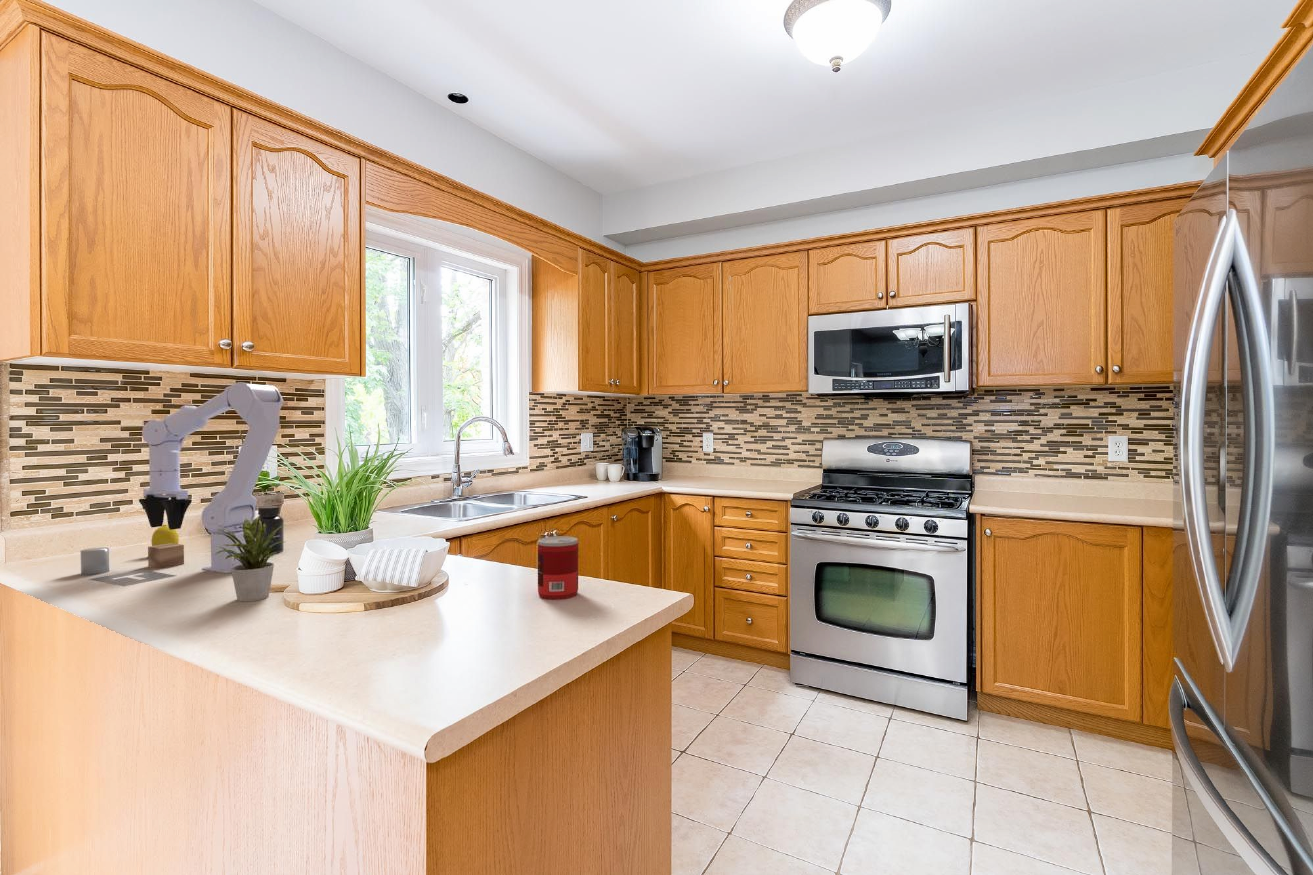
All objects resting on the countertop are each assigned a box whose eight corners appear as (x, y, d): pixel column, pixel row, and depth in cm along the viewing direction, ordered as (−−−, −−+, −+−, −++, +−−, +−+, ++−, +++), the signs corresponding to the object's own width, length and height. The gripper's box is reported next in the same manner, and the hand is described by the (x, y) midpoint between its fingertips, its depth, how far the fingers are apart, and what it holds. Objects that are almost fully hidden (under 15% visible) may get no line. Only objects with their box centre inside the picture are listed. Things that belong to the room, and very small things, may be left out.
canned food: (586, 594, 125) (586, 539, 124) (554, 602, 119) (553, 544, 119) (562, 587, 130) (561, 534, 130) (530, 595, 124) (529, 539, 124)
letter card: (177, 576, 139) (177, 575, 139) (123, 587, 130) (123, 586, 130) (141, 570, 145) (141, 569, 145) (88, 580, 136) (88, 579, 136)
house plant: (196, 597, 122) (195, 513, 122) (276, 584, 132) (275, 507, 132) (214, 612, 112) (213, 521, 112) (299, 596, 123) (298, 513, 122)
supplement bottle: (273, 554, 162) (273, 508, 162) (247, 554, 163) (247, 508, 162) (289, 549, 169) (289, 505, 169) (264, 549, 169) (263, 505, 169)
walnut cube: (184, 565, 151) (183, 544, 150) (160, 569, 146) (159, 548, 146) (172, 563, 153) (171, 543, 153) (148, 567, 148) (148, 546, 148)
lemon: (184, 553, 164) (184, 523, 164) (165, 557, 159) (165, 526, 158) (165, 553, 165) (164, 522, 164) (145, 557, 159) (145, 526, 159)
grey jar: (113, 572, 143) (113, 548, 143) (87, 577, 139) (86, 552, 138) (103, 570, 145) (102, 546, 145) (76, 574, 141) (76, 550, 141)
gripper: (128, 471, 148) (128, 528, 149) (163, 473, 142) (164, 532, 143) (161, 469, 155) (162, 524, 155) (197, 471, 149) (197, 528, 149)
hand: (165, 527), depth 149 cm, fingers open, 7 cm apart
